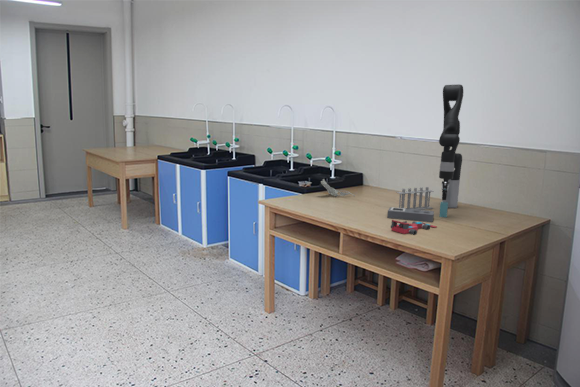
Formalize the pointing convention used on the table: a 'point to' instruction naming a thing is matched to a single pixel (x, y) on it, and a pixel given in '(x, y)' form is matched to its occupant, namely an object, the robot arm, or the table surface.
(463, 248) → the table surface
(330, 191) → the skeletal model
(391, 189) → the table surface
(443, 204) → the block
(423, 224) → the race car
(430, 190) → the test tube rack
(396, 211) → the power strip
